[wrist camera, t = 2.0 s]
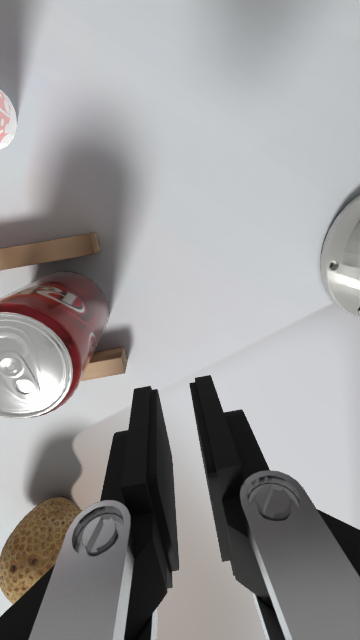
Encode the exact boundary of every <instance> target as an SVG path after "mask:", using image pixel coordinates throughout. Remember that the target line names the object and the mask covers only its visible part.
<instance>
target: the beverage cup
mask: <svg viewBox="0 0 360 640" xmlns="http://www.w3.org/2000/svg"><path fill="white" fill-rule="evenodd" d="M16 128H17V119H16V112H15V109H14V107H13V105H12V103H11V101H10V99H9V98H8V97H7V96H6V95H5V94H4V93H3V92H2V91H1V90H0V149H2V148H4V147H6V146H8V145H9V143H10V142H11V141H12V139H13V138H14V137H15V133H16Z"/></svg>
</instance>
